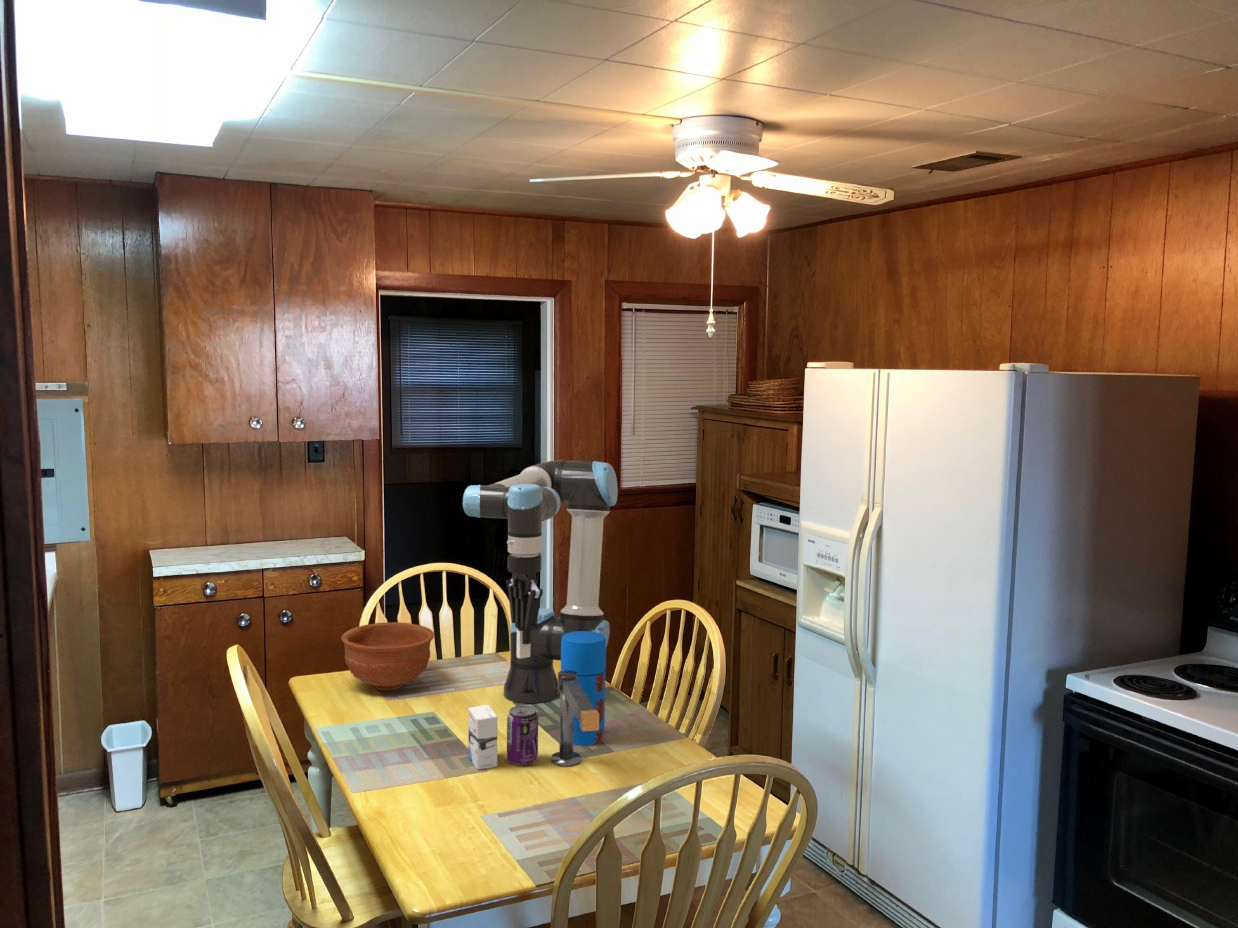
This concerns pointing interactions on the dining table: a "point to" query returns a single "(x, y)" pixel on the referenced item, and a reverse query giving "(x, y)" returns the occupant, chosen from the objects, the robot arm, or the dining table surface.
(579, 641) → the thermos
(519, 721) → the beverage can
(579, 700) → the swing bar
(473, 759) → the ink box
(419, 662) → the bowl
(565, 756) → the post
